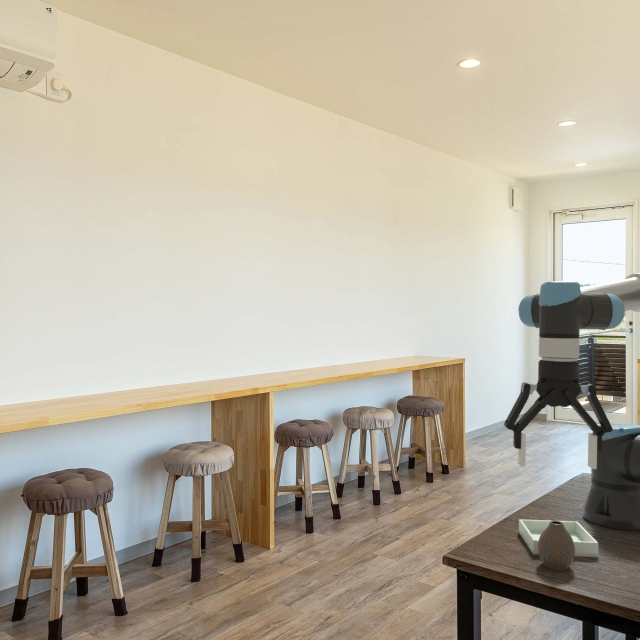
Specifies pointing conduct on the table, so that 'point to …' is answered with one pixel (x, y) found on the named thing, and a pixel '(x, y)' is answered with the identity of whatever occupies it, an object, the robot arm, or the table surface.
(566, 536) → the vase
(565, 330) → the robot arm
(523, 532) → the tray
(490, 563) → the table surface
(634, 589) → the table surface
